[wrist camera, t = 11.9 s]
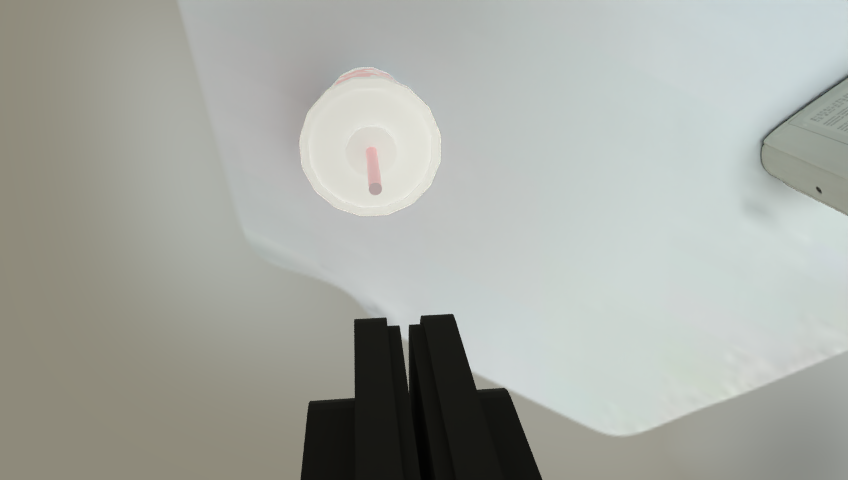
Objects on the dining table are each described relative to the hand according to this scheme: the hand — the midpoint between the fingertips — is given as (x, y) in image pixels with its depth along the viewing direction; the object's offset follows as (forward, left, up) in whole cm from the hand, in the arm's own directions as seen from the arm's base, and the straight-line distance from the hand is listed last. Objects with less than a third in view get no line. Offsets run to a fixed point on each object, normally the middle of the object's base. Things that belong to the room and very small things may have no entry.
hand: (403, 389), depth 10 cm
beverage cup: (0, 0, -26) cm, 26 cm away
